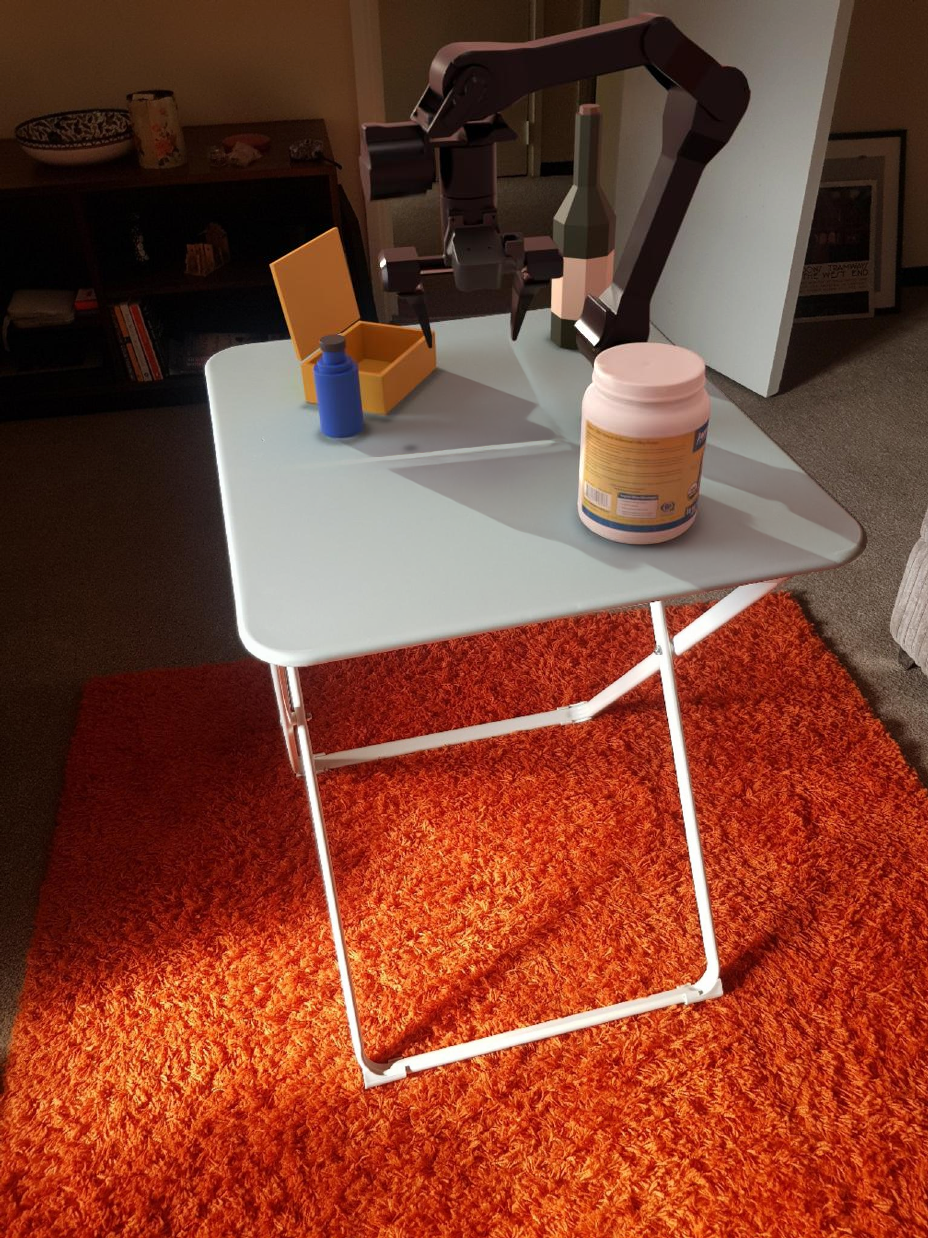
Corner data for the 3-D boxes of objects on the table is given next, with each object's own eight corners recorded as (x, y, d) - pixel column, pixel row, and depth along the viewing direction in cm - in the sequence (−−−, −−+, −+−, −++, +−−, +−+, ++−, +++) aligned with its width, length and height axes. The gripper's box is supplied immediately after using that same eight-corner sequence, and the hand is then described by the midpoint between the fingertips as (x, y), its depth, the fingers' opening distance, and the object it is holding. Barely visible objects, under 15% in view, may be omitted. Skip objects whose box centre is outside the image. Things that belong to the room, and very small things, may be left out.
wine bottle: (611, 349, 136) (627, 111, 118) (552, 350, 136) (558, 113, 118) (605, 327, 143) (619, 98, 124) (548, 328, 143) (554, 100, 125)
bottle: (353, 419, 121) (343, 327, 114) (372, 435, 118) (362, 341, 111) (315, 430, 119) (302, 337, 112) (332, 446, 116) (320, 351, 109)
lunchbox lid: (337, 226, 126) (313, 229, 127) (273, 263, 114) (247, 266, 116) (360, 317, 132) (336, 319, 134) (301, 361, 121) (276, 362, 123)
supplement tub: (712, 543, 97) (736, 384, 87) (592, 555, 96) (602, 396, 86) (674, 482, 107) (691, 332, 96) (565, 493, 105) (570, 343, 95)
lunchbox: (437, 371, 132) (434, 330, 129) (385, 419, 121) (381, 376, 118) (362, 360, 136) (358, 320, 132) (306, 406, 125) (300, 363, 121)
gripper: (380, 221, 89) (393, 381, 99) (579, 206, 91) (573, 365, 101) (371, 190, 98) (384, 340, 108) (553, 177, 100) (549, 325, 109)
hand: (472, 343), depth 106 cm, fingers open, 9 cm apart
